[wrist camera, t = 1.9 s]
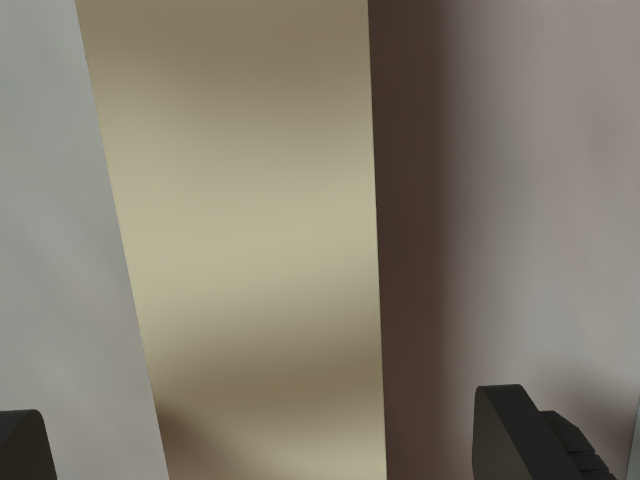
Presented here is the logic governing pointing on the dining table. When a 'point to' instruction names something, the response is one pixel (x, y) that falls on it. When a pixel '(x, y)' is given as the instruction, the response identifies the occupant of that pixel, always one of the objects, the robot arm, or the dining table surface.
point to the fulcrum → (635, 452)
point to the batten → (248, 228)
